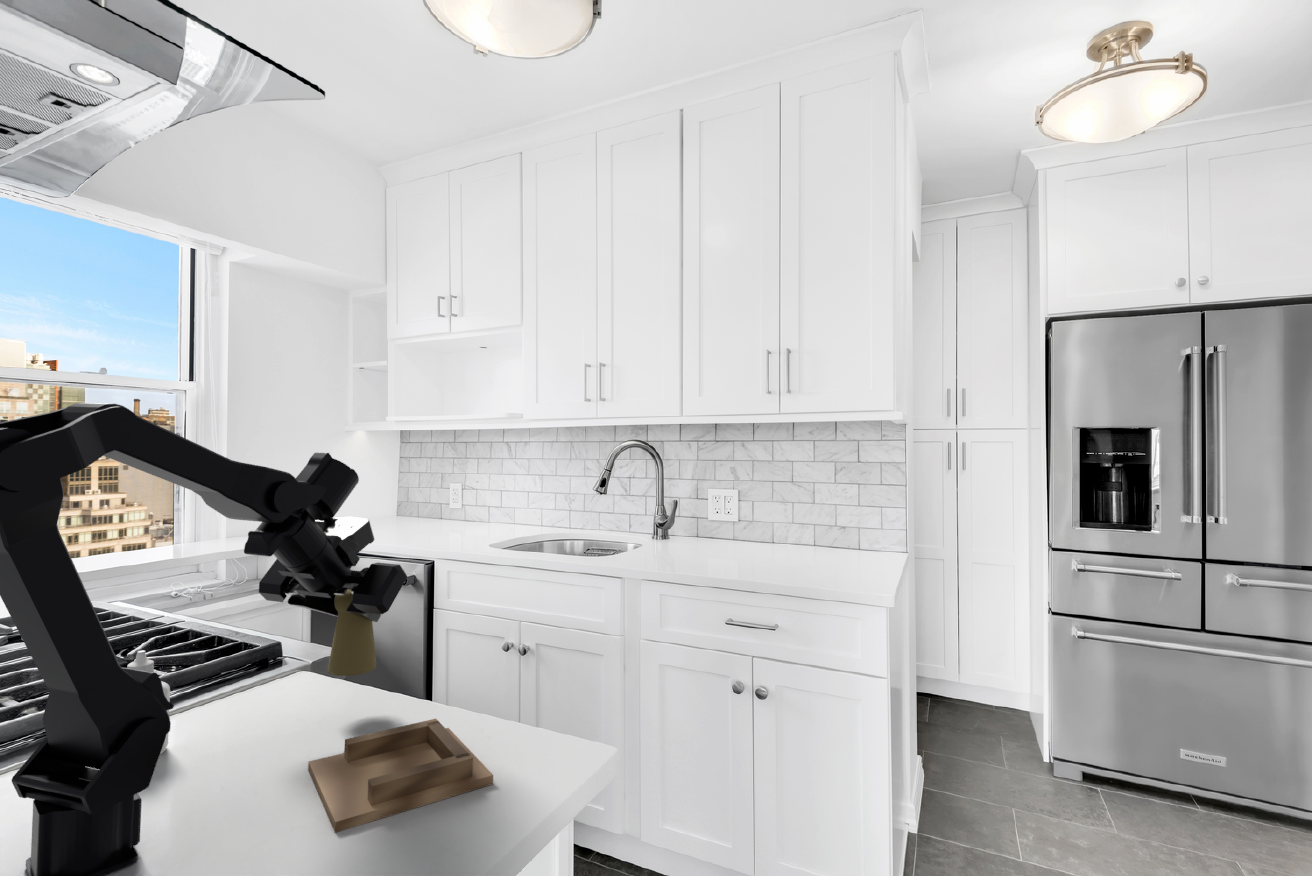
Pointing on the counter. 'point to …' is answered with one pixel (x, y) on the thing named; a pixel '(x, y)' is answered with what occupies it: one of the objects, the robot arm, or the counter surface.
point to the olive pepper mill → (351, 641)
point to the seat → (395, 773)
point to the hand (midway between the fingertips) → (361, 616)
